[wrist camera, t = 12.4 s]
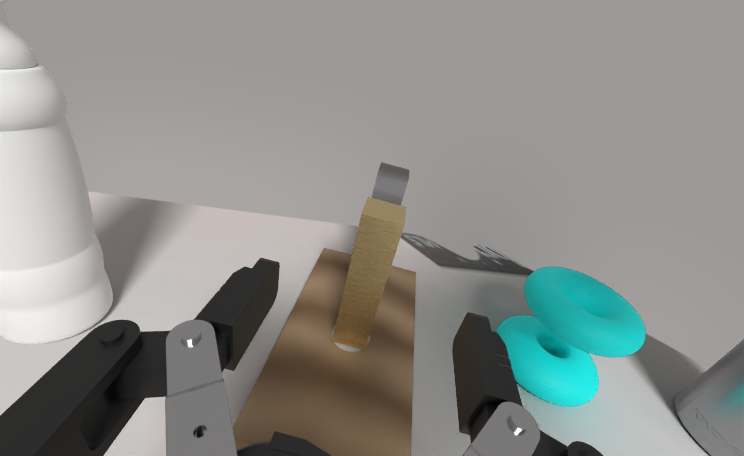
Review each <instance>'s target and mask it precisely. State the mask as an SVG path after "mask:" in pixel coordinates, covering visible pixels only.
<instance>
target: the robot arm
mask: <svg viewBox="0 0 744 456" xmlns="http://www.w3.org/2000/svg"><path fill="white" fill-rule="evenodd" d="M279 266H280V265H279V262H275V261H272V260H268V259H264V258H260V259H259V260H258V261H257V263H256V264H255V265H254V267H253V268H248V267H243V268H241V269H240V270H238V271H236V272H234V273H233V274H232V275H231V276H230V278H229V279H228V280H227V281H226V283H225V284H224V285H223V286H222V287H221V288H220V290H219V291H218V292H217V293H216V294H215V295H214V297H213V298H212V299H211V300H210V301H209V302H208V304H207V305H206V306H205V307H204V308H203V310H202V311H201V312H200V313H199V314H198V315H197V317H196V318H195V319H194V320H190V321H186V322H183V323H181V324H179V325H177V326H176V327H174V328H173V329H172V330H171V331H154V332H140V329H139V326H138V325H137V324H136V323H134V322H132V321H129V320H115V321H111V322H107V323H105V324H102V325H100V326H98V327H97V328H95V329H94V330H92V331H91V332H90V333H89V334H88V335H87V336H86V337H84V338H83V339H82V340H81V341H80V342H79V343H78V344H77V345H76V346H75V347H74V348H73V349H72V350H70V351H69V352H68V353H67V354H66V355H65V356H64V357H63V358H62V359H61V360H60V361H59V362H58V363H56V364H55V365H54V366H53V367H52V368H51V369H50V370H49V371H48V372H47V373H46V374H45V375H44V376H43V377H41V378H40V379H39V380H38V381H37V382H36V383H35V384H34V385H33V386H32V387H31V388H30V389H29V390H27V391H26V392H25V393H24V394H23V395H22V396H21V397H20V398H19V399H18V400H17V401H16V402H15V403H13V404H12V405H11V406H10V407H9V408H8V409H7V410H6V411H5V412H4V413H3V414H2V415H1V416H0V456H103V455H104V454H105V452H106V451H107V450H108V448H109V447H110V446H111V444H112V443H113V441H114V440H115V439H116V437H117V436H118V435H119V433H120V432H121V430H122V429H123V428H124V426H125V425H126V423H127V422H128V421H129V419H130V418H131V417H132V415H133V414H134V412H135V411H136V410H137V408H138V407H139V406H140V404H141V403H142V401H143V400H144V399H145V398H150V397H165V396H167V397H166V399H165V415H166V456H331V455H330V454H328V453H326V452H325V451H323V450H322V449H320V448H318V447H317V446H315V445H314V444H312V443H310V442H309V441H307V440H306V439H302V438H298V437H295V436H291V435H287V434H284V433H280V432H276V431H274V434H273V436H272V439H271V441H263V442H257V443H254V444H250V445H247V446H245V447H243V448H240V449H238V450H237V451H236V446H235V440H234V434H233V429H232V423H231V417H230V411H229V405H228V400H227V394H226V388H225V383H224V379H223V378H222V371H223V370H224V368H226V369H229V370H233V371H234V370H235V368H236V366H237V364H238V363H239V361H240V359H241V358H242V356H243V354H244V353H245V351H246V349H247V348H248V346H249V344H250V342H251V341H252V339H253V337H254V336H255V334H256V332H257V331H258V329H259V327H260V325H261V324H262V322H263V320H264V319H265V317H266V315H267V314H268V312H269V310H270V309H271V307H272V305H273V303H274V301H275V299H276V296H277V292H278V280H279ZM453 363H454V374H455V385H456V396H457V407H458V419H459V430H460V432H461V433H465V434H468V435H470V438H471V444H470V446H469V447H468V449H467V450H466V451H465V453H464V454H463V456H603V455H602V454H601V453H600V452H599V451H597V450H596V449H595V448H593V447H592V446H590V445H588V444H586V443H584V442H579V441H576V442H573V443H571V444H570V445H569V446H568V447H567V446H566V445H564V444H562V443H560V442H559V441H557V440H555V439H554V438H552V437H550V436H548V435H547V434H545V433H544V432H542V431H541V430H540V429H539V427H538V424H537V422H536V421H535V419H534V418H533V416H532V415H531V414H530V413H529V412H528V411H527V410H526V409H525V408H523V406H522V403H521V399H520V395H519V392H518V388H517V384H516V381H515V377H514V373H513V370H512V369H511V367H512V366H511V362H510V359H509V355H508V351H507V347H506V344H505V343H504V341H503V340H502V338H501V337H500V335H499V334H498V333H496V332H492V331H491V328H490V323H489V320H488V318H487V317H485V316H481V315H478V314H474V313H470V312H469V313H467V314H466V316H465V318H464V320H463V322H462V324H461V326H460V328H459V330H458V332H457V334H456V336H455V338H454V342H453ZM675 409H676V412H677V414H678V416H679V418H680V420H681V422H682V423H683V425H684V426H685V427H686V429H687V430H688V431H689V433H690V434H691V435H692V436H693V437H694V439H695V440H696V441H697V442H698V443H699V444H700V445H701V446H702V447H703V448H704V449H705V450H706V451H707V452H708V453H709V454H710V455H711V456H744V339H743V340H742V341H741V342H740V343H739V344H738V345H736V346H735V347H734V348H733V349H732V350H731V351H729V353H727V354H726V355H725V356H724V357H722V358H721V359H720V360H719V361H718V362H716V364H714V365H713V366H712V367H711V368H709V369H708V370H707V371H706V372H705V373H703V374H702V375H701V376H700V377H699V378H697V379H696V380H695V381H694V382H693V383H692V384H690V385H689V386H688V387H687V388H686V389H685V390H683V391H682V392H681V393H680V394H679V395H678V396H677V397H676V398H675Z"/></svg>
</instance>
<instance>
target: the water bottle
mask: <svg viewBox="0 0 744 456" xmlns="http://www.w3.org/2000/svg"><path fill="white" fill-rule="evenodd" d="M9 3H10V0H0V335H1V336H2V337H3V338H5V339H7V340H9V341H12V342H15V343H20V344H44V343H50V342H55V341H59V340H63V339H66V338H69V337H72V336H74V335H77V334H79V333H81V332H83V331H85V330H87V329H88V328H90V327H92V326H93V325H95V324H96V323H97V322H98V321H100V320H101V319H102V318H103V317H104V316H105V315H106V314H107V312H108V311H109V309H110V308H111V305H112V302H113V292H112V288H111V284H110V281H109V278H108V276H107V273H106V271H105V269H104V258H103V252H102V248H101V245H100V242H99V240H98V238H97V236H96V234H95V233H94V226H93V217H92V210H91V205H90V200H89V195H88V190H87V186H86V182H85V178H84V174H83V170H82V166H81V162H80V159H79V155H78V152H77V149H76V145H75V142H74V139H73V137H72V134H71V131H70V128H69V126H68V123H67V120H66V118H65V116H66V113H67V102H66V98H65V95H64V93H63V91H62V89H61V87H60V86H59V84H58V83H57V82H56V80H55V79H54V78H53V77H52V75H51V74H50V73H49V72H48V71H47V69H46V68H45V67H44V66H43V65H42V64H41V63H39V62H38V60H37V58H36V55H35V54H34V52H33V51H32V49H31V48H30V46H29V45H28V44H27V43H26V42H25V41H24V40H23V39H22V38H21V37H20V36H19V35H18V34H17V33H16V32H15V31H14V29H13V28H12V27H11V25H10V24H9V22H8V20H7V18H6V15H5V8H6V6H7V5H8V4H9Z"/></svg>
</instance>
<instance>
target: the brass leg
mask: <svg viewBox="0 0 744 456" xmlns="http://www.w3.org/2000/svg"><path fill="white" fill-rule="evenodd" d="M405 211H406V207H404V206H400V205H397V204H393V203H389V202H385V201H382V200H378V199H374V198H370V197H368V199H367V201H366V204H365V206H364V209H363V212H362V215H361V219H360V223H359V228H358V232H357V236H356V240H355V245H354V249H353V253H352V257H351V262H350V266H349V270H348V275H347V279H346V283H345V287H344V292H343V296H342V300H341V304H340V309H339V313H338V317H337V322H336V326H335V330H334V334H333V339H332V342H336V343H340V344H343V345H347V346H351V347H354V348H358V349H362V350H365V348H366V345H367V341H368V338H369V335H370V332H371V329H372V326H373V322H374V319H375V316H376V313H377V310H378V307H379V303H380V300H381V297H382V294H383V291H384V288H385V284H386V281H387V278H388V275H389V272H390V269H391V265H392V262H393V259H394V256H395V253H396V250H397V246H398V243H399V240H400V237H401V234H402V230H403V227H404V222H405Z"/></svg>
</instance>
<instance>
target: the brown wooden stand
mask: <svg viewBox="0 0 744 456" xmlns="http://www.w3.org/2000/svg"><path fill="white" fill-rule="evenodd" d="M408 178H409V170H408V169H404V168H401V167H397V166H392V165H389V164H385V163H381V165H380V168H379V171H378V174H377V178H376V182H375V186H374V190H373V194H372V198H374V199H378V200H382V201H385V202H389V203H393V204H397V205H400V206H401V202H402V199H403V196H404V192H405V189H406V186H407V182H408ZM351 257H352V255H349V254H345V253H342V252H338V251H334V250H330V249H327V248H324V249H323V251H322V253H321V255H320V257H319V259H318V261H317V263H316V265H315V267H314V269H313V271H312V273H311V275H310V277H309V279H308V281H307V283H306V285H305V287H304V289H303V291H302V293H301V295H300V297H299V299H298V301H297V303H296V305H295V307H294V309H293V311H292V313H291V315H290V317H289V318H288V320H287V322H286V324H285V326H284V328H283V330H282V332H281V334H280V336H279V338H278V340H277V342H276V344H275V346H274V348H273V350H272V352H271V354H270V356H269V358H268V360H267V362H266V364H265V366H264V368H263V370H262V372H261V374H260V376H259V378H258V380H257V382H256V384H255V386H254V388H253V390H252V392H251V394H250V396H249V398H248V400H247V402H246V404H245V406H244V407H243V409H242V411H241V413H240V415H239V417H238V419H237V421H236V423H235V425H234V427H233V434H234V440H235V446H236V450H238V449H240V448H243V447H245V446H247V445H250V444H254V443H257V442H263V441H271V439H272V436H273V434H274V431H276V432H280V433H284V434H287V435H291V436H295V437H298V438H302V439H306V440H307V441H309V442H310V443H312V444H314V445H315V446H317V447H318V448H320V449H322V450H323V451H325V452H326V453H328V454H330V455H331V456H411V425H412V389H413V353H414V317H415V280H416V272H413V271H409V270H405V269H402V268H398V267H394V266H391V269H390V272H389V275H388V278H387V281H386V284H385V288H384V291H383V294H382V297H381V300H380V303H379V307H378V310H377V313H376V316H375V319H374V322H373V326H372V329H371V332H370V335H369V338H368V341H367V345H366V348H365V350H362V349H358V348H354V347H351V346H347V345H343V344H340V343H336V342H332V339H333V334H334V330H335V326H336V322H337V317H338V313H339V309H340V304H341V300H342V296H343V292H344V287H345V283H346V279H347V275H348V270H349V266H350V262H351Z"/></svg>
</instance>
